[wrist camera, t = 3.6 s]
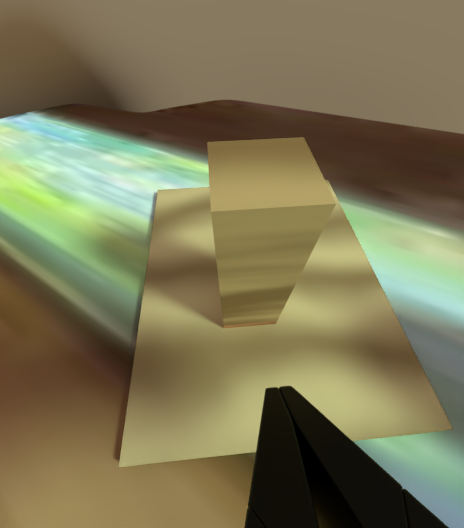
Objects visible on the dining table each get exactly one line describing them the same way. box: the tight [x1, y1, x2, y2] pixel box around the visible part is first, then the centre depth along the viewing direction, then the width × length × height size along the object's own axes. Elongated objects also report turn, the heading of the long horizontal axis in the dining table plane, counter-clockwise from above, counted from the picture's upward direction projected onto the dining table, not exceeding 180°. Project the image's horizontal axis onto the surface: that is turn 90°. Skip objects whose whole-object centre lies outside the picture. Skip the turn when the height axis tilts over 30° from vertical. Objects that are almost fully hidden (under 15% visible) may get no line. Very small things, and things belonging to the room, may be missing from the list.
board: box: [119, 180, 453, 467], centre depth 20 cm, size 24×20×1 cm
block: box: [207, 137, 336, 328], centre depth 13 cm, size 4×4×12 cm
